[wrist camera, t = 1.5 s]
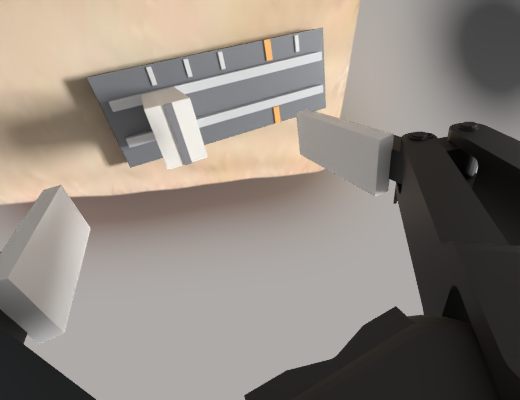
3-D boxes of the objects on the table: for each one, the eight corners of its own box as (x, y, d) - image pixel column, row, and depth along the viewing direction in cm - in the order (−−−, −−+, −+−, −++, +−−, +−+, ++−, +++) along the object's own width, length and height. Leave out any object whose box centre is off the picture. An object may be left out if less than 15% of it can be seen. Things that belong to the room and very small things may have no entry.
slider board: (90, 76, 28) (85, 78, 25) (312, 29, 35) (327, 26, 32) (130, 161, 33) (130, 170, 30) (316, 105, 40) (329, 108, 38)
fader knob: (140, 93, 28) (144, 109, 19) (172, 86, 29) (190, 98, 20) (158, 138, 31) (168, 170, 22) (186, 129, 32) (208, 157, 23)
